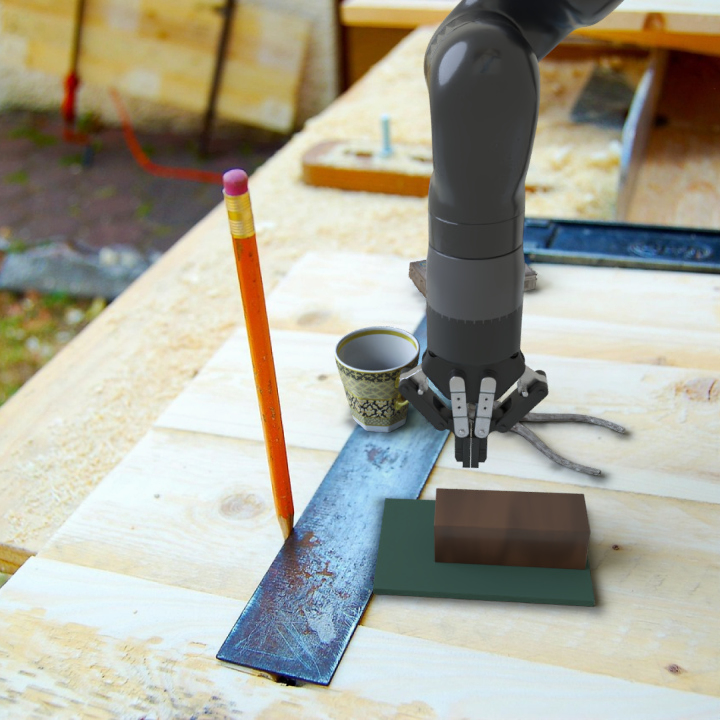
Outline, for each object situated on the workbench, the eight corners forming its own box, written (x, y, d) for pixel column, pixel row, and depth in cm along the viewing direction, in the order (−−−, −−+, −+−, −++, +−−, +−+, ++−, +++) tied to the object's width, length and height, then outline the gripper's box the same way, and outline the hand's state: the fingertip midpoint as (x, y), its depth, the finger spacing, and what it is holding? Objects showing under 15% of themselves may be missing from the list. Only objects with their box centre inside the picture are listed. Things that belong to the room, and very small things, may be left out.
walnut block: (436, 524, 77) (579, 530, 75) (434, 562, 73) (585, 570, 71) (436, 487, 75) (584, 493, 73) (434, 525, 70) (590, 532, 69)
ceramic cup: (324, 413, 95) (317, 345, 90) (388, 383, 100) (385, 317, 94) (387, 466, 86) (383, 395, 81) (454, 431, 91) (455, 361, 85)
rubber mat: (578, 511, 79) (579, 505, 78) (594, 606, 69) (595, 600, 68) (385, 503, 81) (385, 497, 81) (373, 594, 72) (372, 588, 71)
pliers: (617, 474, 81) (437, 437, 88) (616, 480, 82) (437, 443, 89) (627, 421, 89) (460, 391, 96) (626, 427, 89) (460, 396, 96)
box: (407, 278, 123) (407, 261, 121) (505, 260, 127) (506, 243, 125) (433, 310, 114) (433, 292, 112) (537, 290, 118) (539, 272, 117)
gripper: (385, 316, 57) (394, 488, 67) (566, 317, 56) (549, 493, 65) (393, 270, 64) (400, 433, 73) (557, 270, 62) (542, 437, 71)
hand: (470, 461), depth 69 cm, fingers closed
